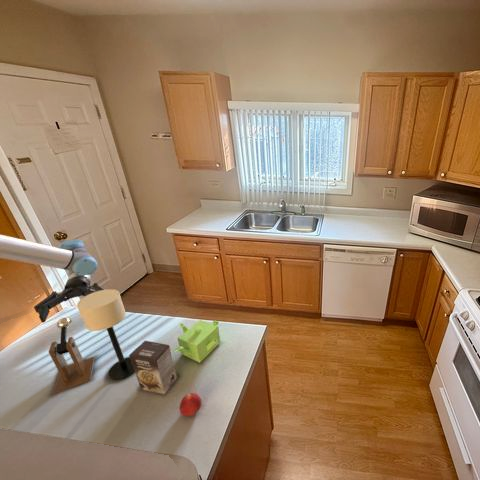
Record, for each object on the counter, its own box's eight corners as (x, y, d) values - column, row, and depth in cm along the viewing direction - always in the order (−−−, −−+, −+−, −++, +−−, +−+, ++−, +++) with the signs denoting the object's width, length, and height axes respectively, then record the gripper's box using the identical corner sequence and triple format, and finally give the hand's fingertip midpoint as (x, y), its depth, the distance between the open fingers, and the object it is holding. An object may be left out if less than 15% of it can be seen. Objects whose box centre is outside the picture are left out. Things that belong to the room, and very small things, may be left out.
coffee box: (140, 391, 83) (127, 355, 76) (155, 374, 89) (144, 339, 82) (165, 396, 82) (154, 360, 75) (178, 378, 88) (169, 344, 81)
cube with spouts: (179, 372, 90) (173, 348, 85) (180, 343, 102) (175, 321, 97) (224, 358, 96) (220, 336, 91) (220, 333, 108) (217, 312, 103)
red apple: (185, 426, 74) (180, 409, 71) (179, 411, 78) (174, 393, 75) (205, 413, 78) (201, 396, 74) (199, 399, 81) (195, 382, 78)
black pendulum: (59, 323, 87) (55, 318, 85) (73, 319, 89) (69, 314, 87) (57, 356, 81) (52, 352, 79) (72, 351, 83) (68, 347, 80)
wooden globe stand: (62, 369, 89) (46, 338, 83) (95, 359, 93) (82, 328, 87) (54, 395, 80) (35, 362, 74) (91, 382, 85) (76, 350, 79)
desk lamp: (103, 372, 88) (72, 299, 76) (135, 354, 96) (112, 285, 83) (113, 389, 83) (82, 314, 71) (147, 368, 91) (124, 297, 78)
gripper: (117, 283, 115) (114, 309, 99) (40, 300, 102) (22, 333, 86) (113, 268, 112) (109, 293, 96) (33, 284, 99) (13, 316, 83)
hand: (68, 312), depth 91 cm, fingers open, 13 cm apart
